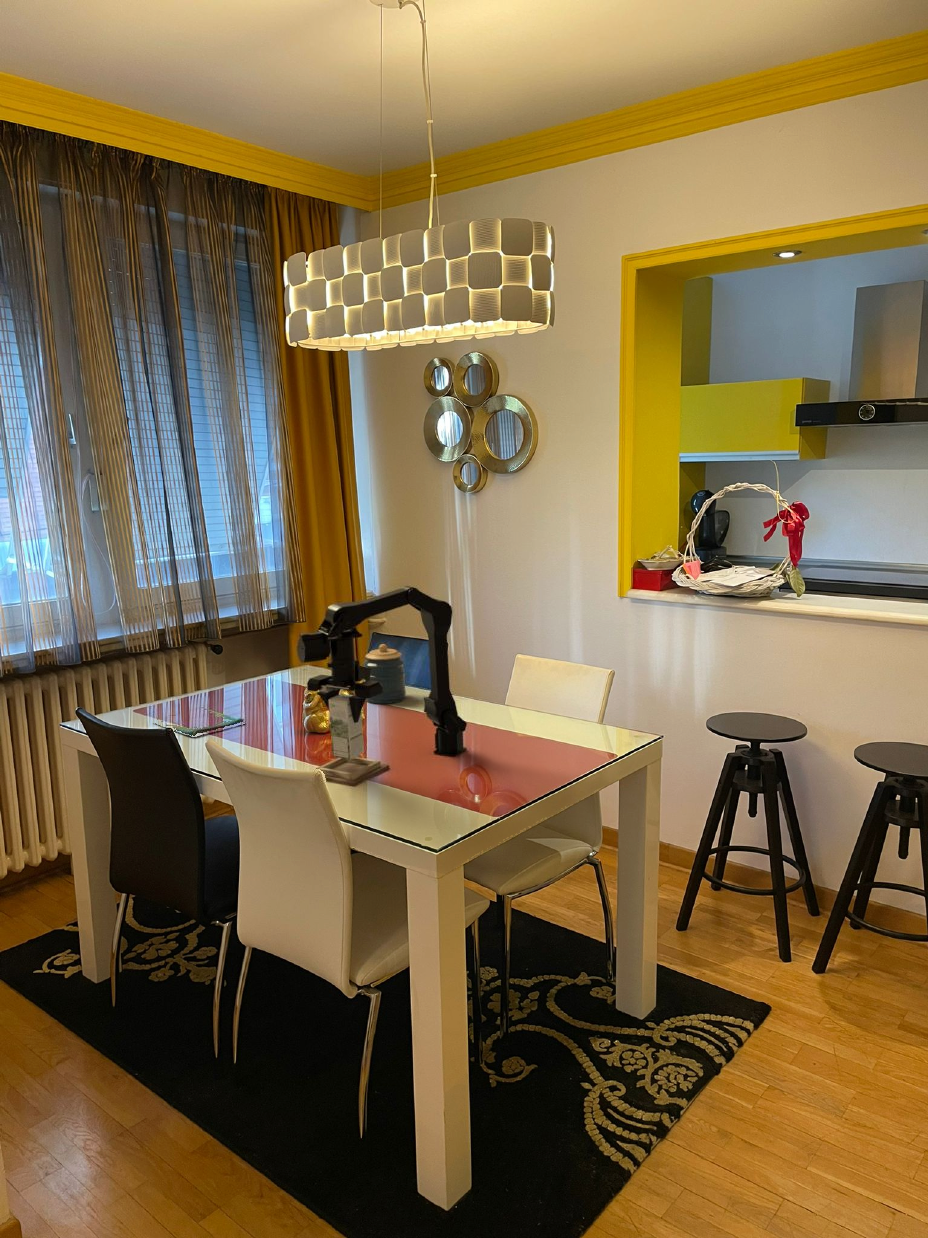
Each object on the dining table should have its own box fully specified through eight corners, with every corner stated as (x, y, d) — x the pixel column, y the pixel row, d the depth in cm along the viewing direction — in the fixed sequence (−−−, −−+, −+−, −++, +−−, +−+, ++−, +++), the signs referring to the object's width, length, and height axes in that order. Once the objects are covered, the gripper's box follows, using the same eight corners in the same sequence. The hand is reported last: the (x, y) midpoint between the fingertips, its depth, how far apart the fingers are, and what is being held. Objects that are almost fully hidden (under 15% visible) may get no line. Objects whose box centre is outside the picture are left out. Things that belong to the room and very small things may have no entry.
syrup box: (365, 753, 222) (361, 695, 219) (350, 760, 217) (346, 701, 214) (346, 750, 225) (343, 692, 222) (331, 757, 220) (327, 698, 217)
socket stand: (389, 768, 224) (389, 760, 224) (354, 786, 212) (353, 778, 212) (343, 759, 231) (343, 752, 231) (307, 777, 219) (307, 769, 219)
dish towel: (193, 740, 253) (192, 732, 252) (151, 725, 269) (150, 717, 268) (246, 726, 265) (245, 718, 265) (203, 712, 281) (202, 704, 281)
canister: (390, 691, 297) (388, 638, 294) (414, 699, 287) (412, 643, 284) (356, 699, 289) (354, 644, 286) (380, 707, 279) (377, 650, 276)
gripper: (394, 653, 219) (397, 717, 221) (333, 647, 228) (336, 708, 231) (366, 663, 209) (369, 729, 212) (303, 656, 219) (307, 719, 222)
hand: (346, 721), depth 219 cm, fingers closed on syrup box, 6 cm apart
